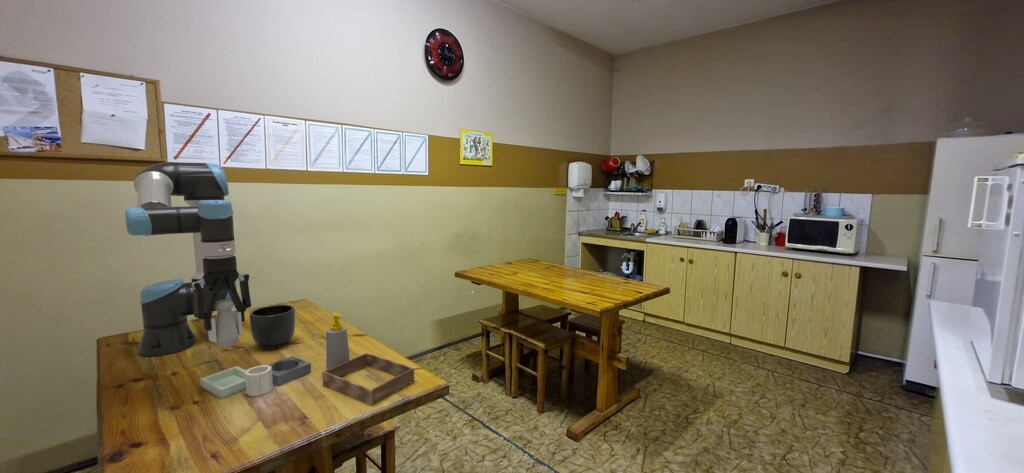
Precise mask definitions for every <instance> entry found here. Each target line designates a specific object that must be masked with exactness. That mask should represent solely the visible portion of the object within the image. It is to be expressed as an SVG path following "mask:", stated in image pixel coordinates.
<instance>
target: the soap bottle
mask: <svg viewBox="0 0 1024 473" xmlns="http://www.w3.org/2000/svg"><path fill="white" fill-rule="evenodd" d="M331 315H332V316H333V322H332V323H331V324H332V325H331V326H330V328H327V329H326V340H325V341H326V344H325V345H326V346H325V347H326V348H325V349H326V355H325V356H326V358H325V359H326V363H325V364H326V365H325V366H326V367H325V368H326V370H328V369H330V368H333V367H335V366H337V365H340V364H342V363H344V362H347V361H349V360H351V359H350V348H349V338H348V329H347V327H346V326H343V325H342V324H341V321H339V318H340V319H342V318H343V317H342V315H341V314H340V313H338V312H332V313H331Z"/></svg>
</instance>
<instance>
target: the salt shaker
mask: <svg viewBox="0 0 1024 473" xmlns="http://www.w3.org/2000/svg"><path fill="white" fill-rule="evenodd" d="M214 307H215V310H218V311H216V313H217V314H216V319H215V326H216V338H217V342H214V343H215V345H216V347H218V348H222V349H224V348H230V347H233V346H235V345H236V344H237V342H238V340H239V336H240V335H239V334H238V331H237V327H236V324H235V321H234V314H233V311H232V308H234V305H233V301H232V300H230V299H223V300H219V301H217V302H215V305H214Z"/></svg>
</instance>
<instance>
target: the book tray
mask: <svg viewBox="0 0 1024 473" xmlns="http://www.w3.org/2000/svg"><path fill="white" fill-rule="evenodd" d="M366 367H370V368H373V369H375V370H378V371H382V372H383V371H384V372H385V373H386V374H389V375H392V376H394V377H393V378H391V379H389V380H387V381H385V382H383V383H382V384H379V385H377V386H376V387H374V388H372V389H370V388H368V387H365V386H363V385H360V384H358V383H356V382H352V381H351V380H347V379H345V378H344V377H346V376H348V375H351V374H352V373H355V372H357V371H359V370H362V369H363V368H366ZM321 375H322V377H321V378H322V386H324V387H327V388H329V389H331V390H334V391H336V392H338V393H341V394H343V395H346V396H348V397H350V398H352V399H355V400H358V401H360V402H362V403H365V404H367V405H369V406H371V407H372V406H374V405H375V404H377V403H379V402H380V400H381V401H382V400H384V399H386V398H388V397H389V396H391V395H394V392H395V393H396V392H398V391H400V390H402V389H403V388H405V387H407V386H408V385H407V384H409V383H410V382H412V381H414V380H415V377H416V376H415V368H414V367H412V366H409V365H406V364H403V363H400V362H397V361H393V360H391V359H388V358H385V357H382V356H381V357H380V356H378V355H375V354H371V353H369V352H366V353H364V354H361V355H359V356H356V357H354V358H352V359H350V360H349V361H347V362H344V363H342V364H340V365H337V366H335V367H333V368H330V369H325V370H324V371H322V373H321ZM414 382H415V381H414ZM412 383H413V382H412ZM410 384H411V383H410ZM410 384H409V385H410ZM406 385H407V386H406ZM404 386H405V387H404ZM401 388H402V389H401ZM399 389H400V390H399Z"/></svg>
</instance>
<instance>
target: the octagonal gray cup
mask: <svg viewBox="0 0 1024 473" xmlns="http://www.w3.org/2000/svg"><path fill="white" fill-rule="evenodd" d="M245 385H246V389H245V394H246V395H248V396H249V397H257V396H263V395H265V394H267V393H269V392H271V391H272V389H273V388H274V384H273V379H272V367H270V366H268V364H263V365H256V366H254V367H250V368H248V369H247V371H246V372H245Z"/></svg>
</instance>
